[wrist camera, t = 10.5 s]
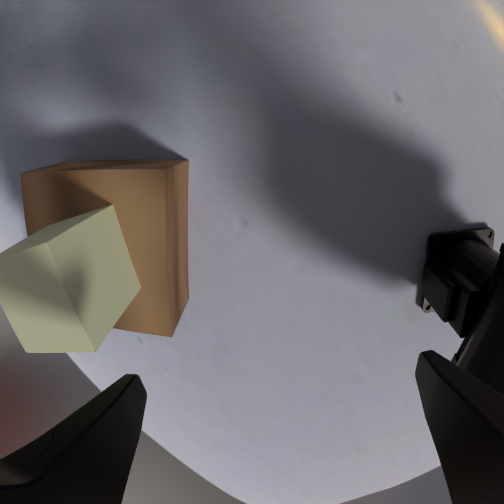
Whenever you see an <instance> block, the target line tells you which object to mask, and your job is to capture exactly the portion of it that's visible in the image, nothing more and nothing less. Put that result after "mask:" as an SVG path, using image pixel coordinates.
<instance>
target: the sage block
mask: <svg viewBox="0 0 504 504" xmlns="http://www.w3.org/2000/svg"><path fill="white" fill-rule="evenodd" d="M140 289H141V285H140V282H139V280H138V277H137V274H136V272H135V269H134V266H133V263H132V260H131V258H130V255H129V252H128V249H127V246H126V243H125V240H124V237H123V234H122V231H121V228H120V225H119V222H118V218H117V215H116V212H115V209H114V206H113V205H110V206H106V207H103V208H100V209H97V210H94V211H90V212H87V213H84V214H81V215H78V216H75V217H72V218H69V219H66V220H63V221H60V222H57V223H54V224H52V225H49V226H47V227H45V228H43V229H42V230H40V231H38V232H36V233H34V234H33V235H31V236H29V237H27V238H25V239H24V240H22V241H20V242H18V243H17V244H15V245H13V246H12V247H10V248H8V249H7V250H5V251H3V252H2V253H0V303H1V305H2V307H3V310H4V312H5V314H6V316H7V318H8V319H9V322H10V324H11V326H12V328H13V329H14V331H15V333H16V335H17V337H18V339H19V340H20V342H21V344H22V346H23V347H24V349H25V351H26V352H27V353H63V352H64V353H65V352H96V351H97V349H98V348H99V346H100V345H101V343H102V342H103V340H104V339H105V338H106V336H107V335H108V333H109V332H110V330H111V329H112V328H113V326H114V325H115V323H116V322H117V321H118V319H119V318H120V316H121V315H122V314H123V312H124V311H125V310H126V308H127V307H128V305H129V304H130V303H131V301H132V300H133V299H134V297H135V296H136V295H137V293H138V292H139V290H140Z"/></svg>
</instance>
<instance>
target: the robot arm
mask: <svg viewBox="0 0 504 504" xmlns="http://www.w3.org/2000/svg"><path fill="white" fill-rule="evenodd" d="M489 232H490V234H489V236H488V233H489ZM435 238H436V241H435V243H433V240H434V239H435ZM493 242H494V230H493V229H491V228H489V227H486V228H477V229H468V230H459V231H450V232H441V233H433V234H431V235H430V236H429V237H428V242H427V256H426V263H425V264H424V271H423V281H422V290H421V294H422V302H421V308H422V310H423V311H424V312H425V313H429V312H434V311H435V312H436V313H437V314H438V316H439V317H440V318H441V319H442V321H443V322H449V324H450V325H451V326H452V327H453V329H454V330H455V331H456V333H457V334H458V335H459V337H460V338H464V337H465V338H464V340H463V342H462V344H461V346H460V348H459V350H458V352H457V353H455V354H454V356H453V358H452V360H451V361H452V362H451V361H449V360H447V359H446V358H444V357H443V356H441V355H440V354H438V353H436V352H435V351H433V350H428V351H424V352H421V353H420V354H419V358H418V362H417V367H416V371H415V377H416V381H417V385H418V389H419V393H420V397H421V401H422V405H423V410H424V414H425V417H426V421H427V424H428V426H429V429H430V432H431V435H432V438H433V441H434V444H435V447H436V450H437V453H438V456H439V459H440V462H441V466H442V469H443V472H444V476H445V479H446V482H447V486H448V489H449V493H450V497H451V500H452V504H504V243H502V244H501V248H500V254H499V253H497V252H496V251H495V250H493ZM427 305H429V306H428V307H426V306H427ZM146 400H147V393H146V390H145V388H144V386H143V384H142V381H141V379H140V377H139V376H138V375H136V374H126V375H124V376H123V377H121V378H120V379H119V380H117V381H116V382H115V383H113V384H112V385H111V386H109V387H108V388H106V389H105V390H104V391H102V392H101V393H100V394H98V395H97V396H96V397H94V398H93V399H92V400H90V401H89V402H87V403H86V404H85V405H83V406H82V407H80V408H79V409H78V410H76V411H75V412H74V413H72V414H71V415H69V416H68V417H67V418H65V419H64V420H62V421H61V422H60V423H59V424H57V425H56V426H54V428H51V429H50V430H48V431H47V432H46V433H44V434H43V435H41V436H40V437H38V438H37V439H35V440H34V441H32V442H30V443H29V444H27V445H25V446H24V447H22V448H20V449H18V450H17V451H15V452H13V453H11V454H9V455H8V456H6V457H4V458H2V459H0V504H121V503H122V499H123V495H124V491H125V487H126V484H127V480H128V476H129V473H130V469H131V465H132V462H133V458H134V455H135V451H136V448H137V444H138V441H139V437H140V432H141V428H142V422H143V416H144V411H145V405H146Z"/></svg>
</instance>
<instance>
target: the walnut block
mask: <svg viewBox="0 0 504 504" xmlns="http://www.w3.org/2000/svg"><path fill="white" fill-rule="evenodd" d="M188 168H189V160H100V161H78V162H62V163H58V164H54V165H50V166H47V167H43V168H39V169H35V170H32V171H28V172H25V173H22V174H21V183H22V195H23V205H24V213H25V221H26V228H27V235H28V237H29V236H31V235H33V234H34V233H36V232H38V231H40V230H42V229H43V228H45V227H47V226H49V225H52V224H54V223H57V222H60V221H63V220H66V219H69V218H72V217H75V216H78V215H81V214H84V213H87V212H90V211H94V210H97V209H100V208H103V207H106V206H110V205H113V206H114V209H115V212H116V215H117V218H118V222H119V225H120V228H121V231H122V234H123V237H124V240H125V243H126V246H127V249H128V252H129V255H130V258H131V260H132V263H133V266H134V269H135V272H136V274H137V277H138V280H139V282H140V285H141V289H140V290H139V292H138V293H137V295H136V296H135V297H134V299H133V300H132V301H131V303H130V304H129V305H128V307H127V308H126V310H125V311H124V312H123V314H122V315H121V316H120V318H119V319H118V321H117V322H116V323H115V325H114V326H113V328H116V329H122V330H128V331H134V332H140V333H146V334H153V335H160V336H167V337H172V336H173V334H174V331H175V329H176V327H177V324H178V322H179V320H180V318H181V315H182V313H183V311H184V308H185V306H186V304H187V302H188V299H189V284H188Z"/></svg>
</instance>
